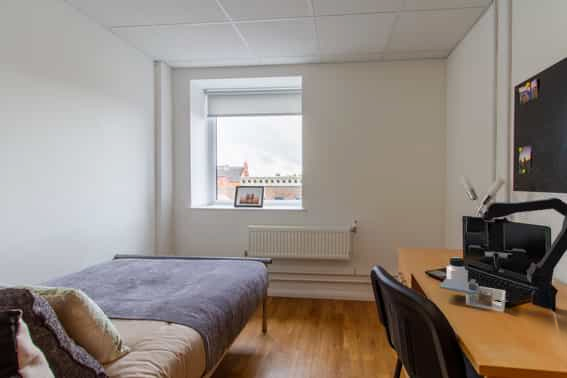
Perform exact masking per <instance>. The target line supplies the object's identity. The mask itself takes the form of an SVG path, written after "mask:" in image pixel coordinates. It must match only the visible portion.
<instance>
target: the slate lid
mask: <svg viewBox="0 0 567 378" xmlns="http://www.w3.org/2000/svg"><path fill="white" fill-rule="evenodd" d="M478 286H479V283H477V279H475V278H471V279H470V280H469V281H468V282H465V281H458V280H452V279H447V278H445V279H444V280H443V281H442V283H441V284H440V285H439V289H442V290H447V291H452V292H458V293H459V292H460V293H465V294H466V293H470V294H475V292H476V290H477V287H478Z"/></svg>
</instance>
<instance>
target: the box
mask: <svg viewBox="0 0 567 378" xmlns="http://www.w3.org/2000/svg"><path fill="white" fill-rule="evenodd" d="M480 291H484V292H490V293H492V306H486V305H480V304H479V292H480ZM495 300H499V301H501V302H498V301H495ZM465 306H471V307H476V308H482V309H487V310H492V311H498V312H502V313H503V312H505V307H506V290H504V289H498V288H492V287H491V288H490V287H487V286H481V285H480V286H479V285H478V287H477V290H476V292H475V294H470V293H465Z"/></svg>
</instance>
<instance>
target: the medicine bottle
mask: <svg viewBox="0 0 567 378" xmlns="http://www.w3.org/2000/svg"><path fill="white" fill-rule="evenodd" d="M465 263H466V262H465V259H464V258H462V257H455V256H454V257H453V256H452V257H450V258H449V266H448V265H447V266H446V279H452V280H458V281H465V282H469V271H468V269H466V268H465Z"/></svg>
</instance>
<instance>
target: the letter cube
mask: <svg viewBox="0 0 567 378" xmlns="http://www.w3.org/2000/svg"><path fill="white" fill-rule="evenodd" d="M479 304H480V305H486V306H492V293H490V292H484V291H480V292H479Z"/></svg>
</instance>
